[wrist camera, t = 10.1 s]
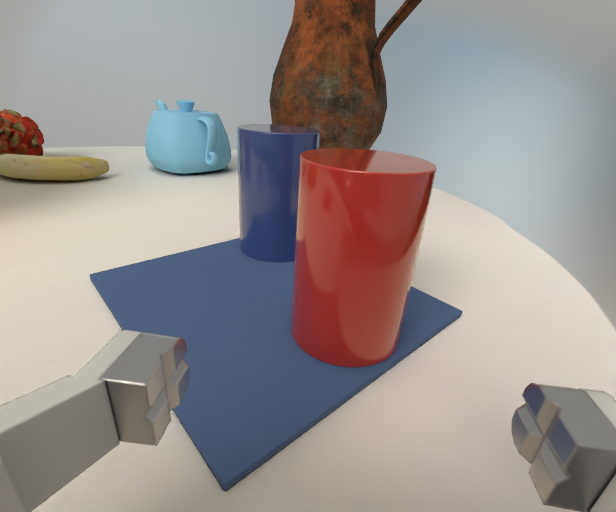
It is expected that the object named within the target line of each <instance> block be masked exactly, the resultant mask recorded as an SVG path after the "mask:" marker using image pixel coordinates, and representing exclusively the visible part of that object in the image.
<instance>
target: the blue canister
mask: <svg viewBox="0 0 616 512" xmlns="http://www.w3.org/2000/svg"><path fill="white" fill-rule="evenodd" d="M237 133H238V177H239V220H240V248H241V250H242V252H243V253H244V254H246V255H247V256H249V257H251V258H254V259H257V260H261V261H268V262H288V261H294V254H295V234H296V214H297V194H298V174H299V156H300V154H301V153H302V152H305V151H308V150H314V149H319V148H320V134H321V132H320V131H319V130H316V129H312V128H306V127H298V126H288V125H271V124H249V125H240V126H238V127H237Z"/></svg>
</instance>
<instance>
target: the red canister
mask: <svg viewBox="0 0 616 512" xmlns="http://www.w3.org/2000/svg"><path fill="white" fill-rule="evenodd" d="M435 174H436V166H435V165H434V164H432V163H431V162H428V161H426V160H423V159H420V158H416V157H412V156H408V155H403V154H397V153H391V152H383V151H374V150H365V149H348V148H325V149H314V150H308V151H305V152H302V153H301V154H300V156H299V174H298V194H297V214H296V234H295V254H294V273H293V293H292V313H291V333H292V336H293V338H294V340H295V341H296V343H297V344H298V345H299V347H300V348H301V349H302V350H304V351H305V352H306V353H307V354H309V355H310V356H312V357H314V358H316V359H318V360H320V361H322V362H325V363H328V364H332V365H336V366H342V367H366V366H371V365H375V364H378V363H380V362H383V361H384V360H386V359H388V358H389V357H390V356H391V355H392V354H393V353H394V352H395V350H396V348H397V347H398V343H399V339H400V334H401V329H402V325H403V320H404V316H405V311H406V307H407V302H408V297H409V293H410V288H411V284H412V279H413V274H414V270H415V265H416V261H417V256H418V252H419V247H420V242H421V238H422V233H423V229H424V224H425V219H426V215H427V210H428V206H429V201H430V197H431V192H432V187H433V182H434V178H435Z"/></svg>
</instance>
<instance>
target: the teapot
mask: <svg viewBox="0 0 616 512" xmlns="http://www.w3.org/2000/svg"><path fill="white" fill-rule="evenodd" d="M176 102H177V105H178V107H179V109H180V110H168V109H167V106H166V105H165V103H164V102H162V101H158V100H156V104H157V106H158V109H159V110H154V112H153V114H152V116H151V119H150V122H149V126H148V129H147V134H146V155H147V158H148V159H149V161H150V162H151V163H152V165H153V166H154V167H156V168H158V169H161V170H164V171H167V172H172V173H179V174H191V173H197V172H208V171H217V170H220V169H224V168H226V167H227V165H228V163H229V161H230V159H231V149H230V143H229V139H228V136H227V133H226V131H225V129H224V126H223V124H222V121H221V119H220V118H219V116H218V114H217V113H212V112H205V111H195V110H192V109H193V106H194V102H193V101H188V100H178V101H176Z"/></svg>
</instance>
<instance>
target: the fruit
mask: <svg viewBox="0 0 616 512" xmlns="http://www.w3.org/2000/svg"><path fill="white" fill-rule="evenodd" d="M108 171H109V165H108V162H107V161H106V160H101V159H97V158H91V157H82V156H34V155H18V154H3V155H0V175H3V176H7V177H11V178H14V179H29V180H61V181H62V180H86V179H92V178H95V177H98V176H100V175H102V174H104V173H106V172H108Z"/></svg>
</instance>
